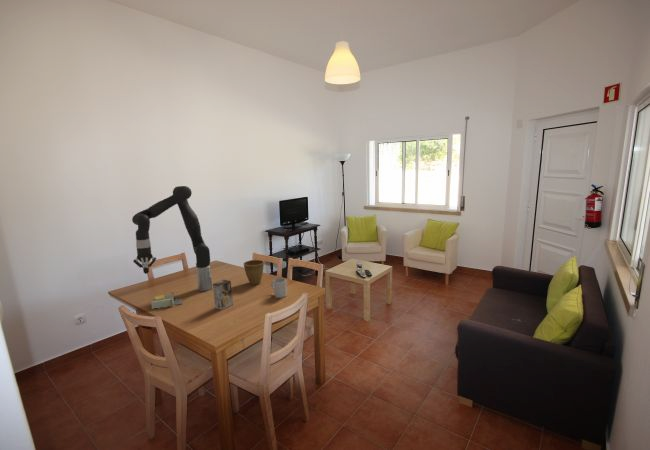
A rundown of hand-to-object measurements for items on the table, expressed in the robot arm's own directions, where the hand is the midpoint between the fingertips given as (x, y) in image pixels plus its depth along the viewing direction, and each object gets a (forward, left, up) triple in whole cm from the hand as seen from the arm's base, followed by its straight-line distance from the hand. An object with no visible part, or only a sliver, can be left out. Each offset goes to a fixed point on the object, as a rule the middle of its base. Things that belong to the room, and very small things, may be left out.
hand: (146, 273), depth 196 cm
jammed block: (-6, 0, -23) cm, 23 cm away
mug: (-79, +16, -23) cm, 84 cm away
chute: (-9, 0, -23) cm, 24 cm away
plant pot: (-68, -13, -23) cm, 73 cm away
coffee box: (-43, +19, -23) cm, 52 cm away
